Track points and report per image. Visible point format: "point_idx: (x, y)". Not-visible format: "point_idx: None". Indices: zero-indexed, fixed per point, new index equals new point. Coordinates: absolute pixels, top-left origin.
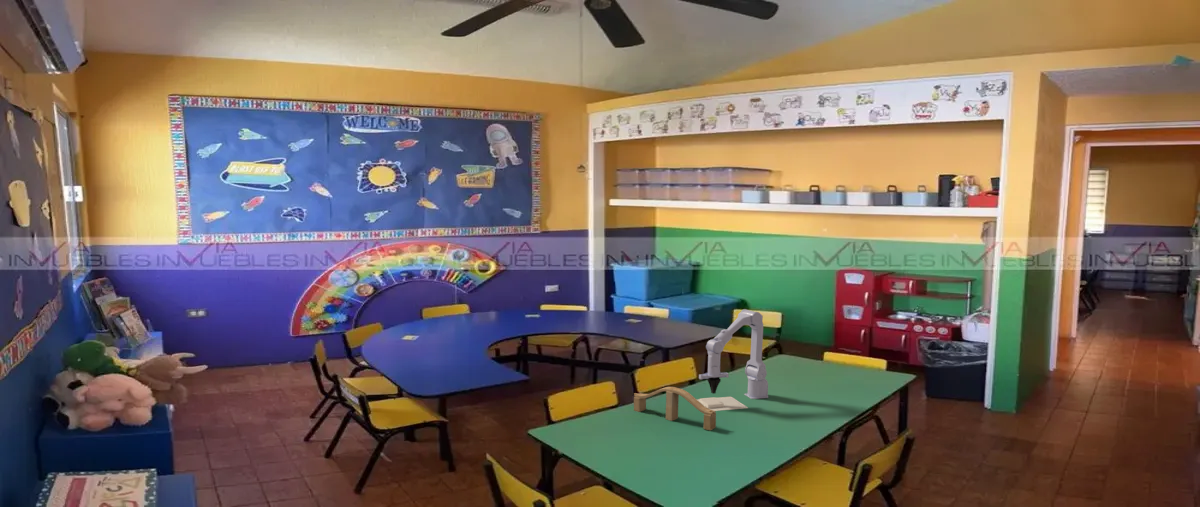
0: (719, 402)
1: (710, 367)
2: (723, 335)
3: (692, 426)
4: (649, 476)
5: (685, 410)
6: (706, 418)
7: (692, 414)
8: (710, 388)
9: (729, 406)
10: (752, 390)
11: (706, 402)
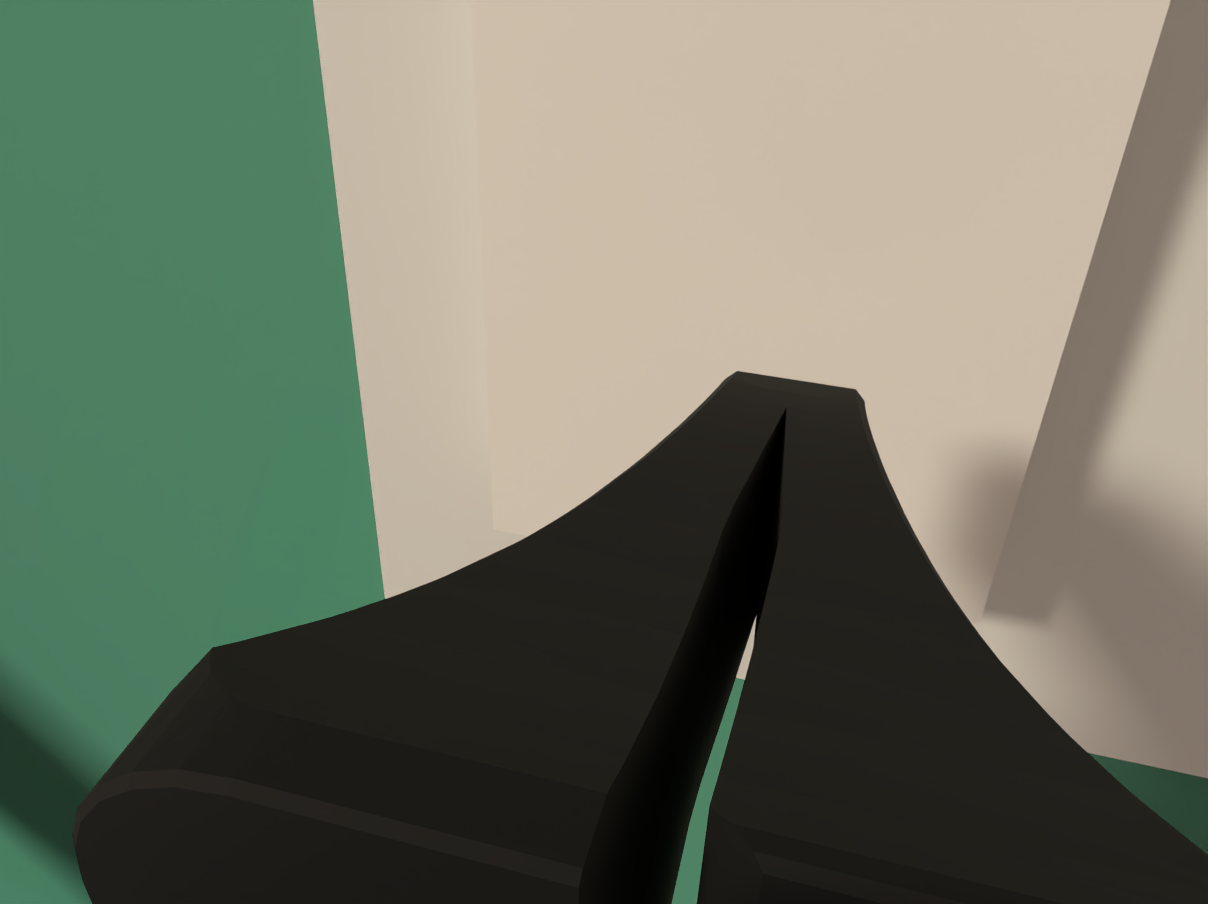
0: (921, 507)
1: None
2: None
3: (53, 880)
4: None
5: (12, 336)
6: None
7: (120, 571)
8: (666, 439)
9: (1176, 586)
10: None
11: (531, 355)
